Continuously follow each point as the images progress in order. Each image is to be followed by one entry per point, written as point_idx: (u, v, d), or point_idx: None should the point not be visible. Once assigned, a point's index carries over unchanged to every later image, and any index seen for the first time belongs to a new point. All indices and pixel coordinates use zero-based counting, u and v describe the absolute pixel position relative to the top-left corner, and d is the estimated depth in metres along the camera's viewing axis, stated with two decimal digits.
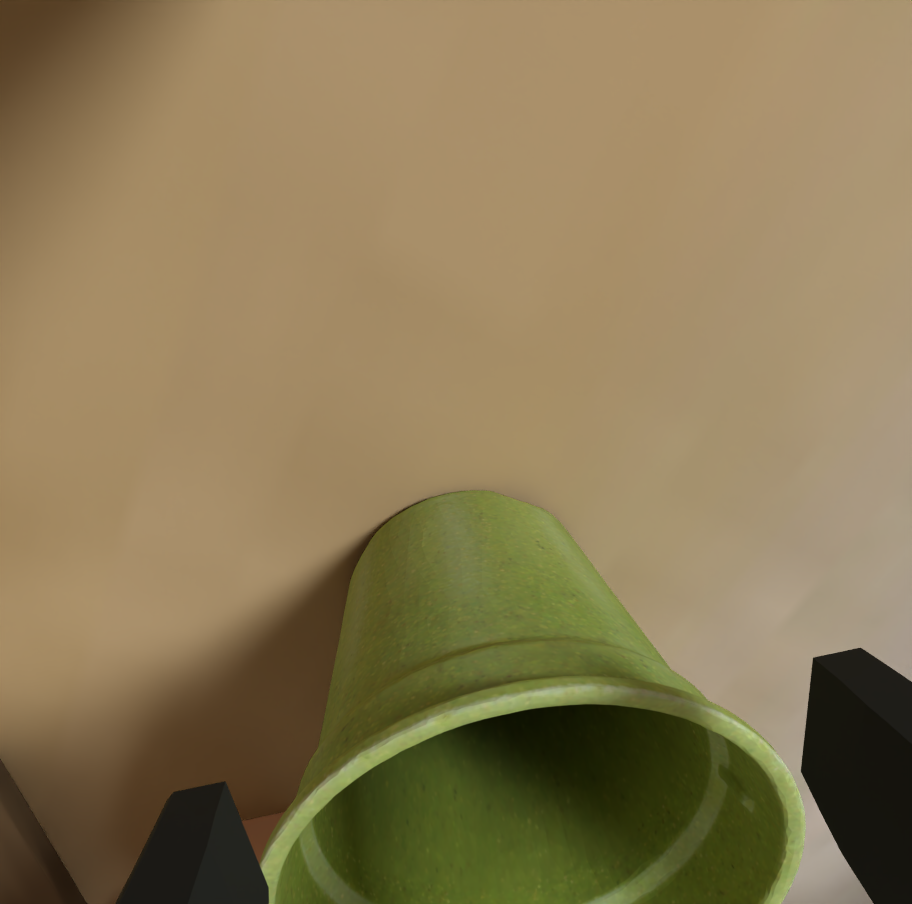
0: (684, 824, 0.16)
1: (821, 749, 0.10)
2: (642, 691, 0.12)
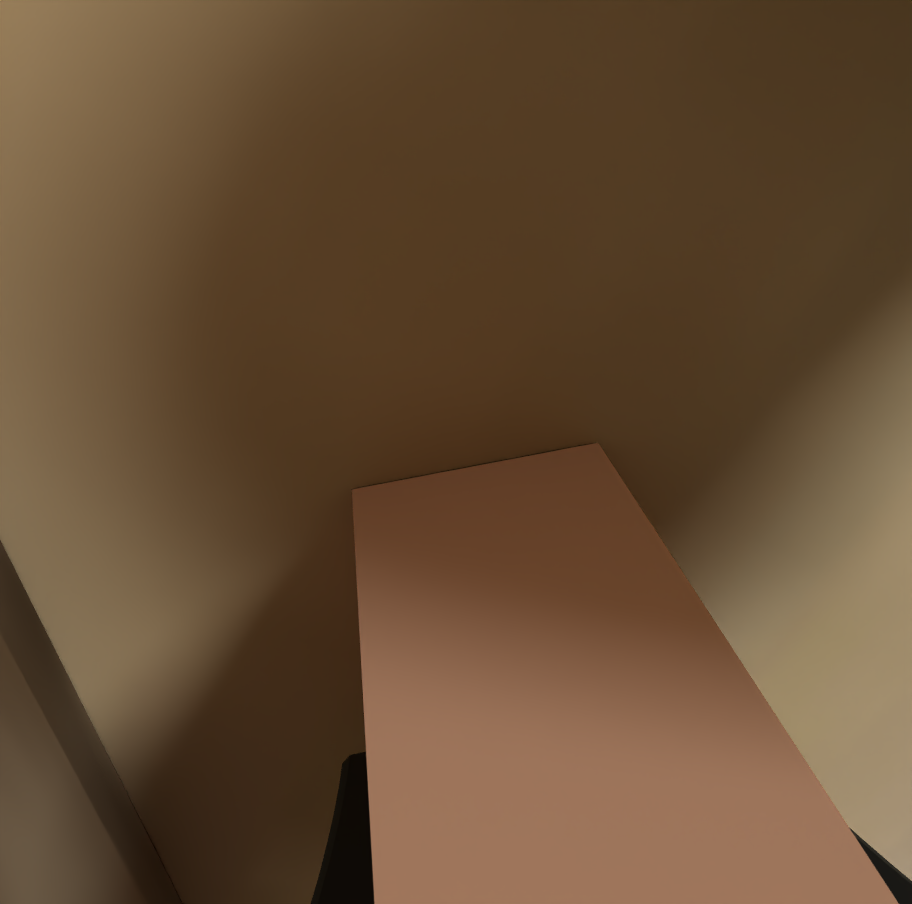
0: None
1: None
2: None
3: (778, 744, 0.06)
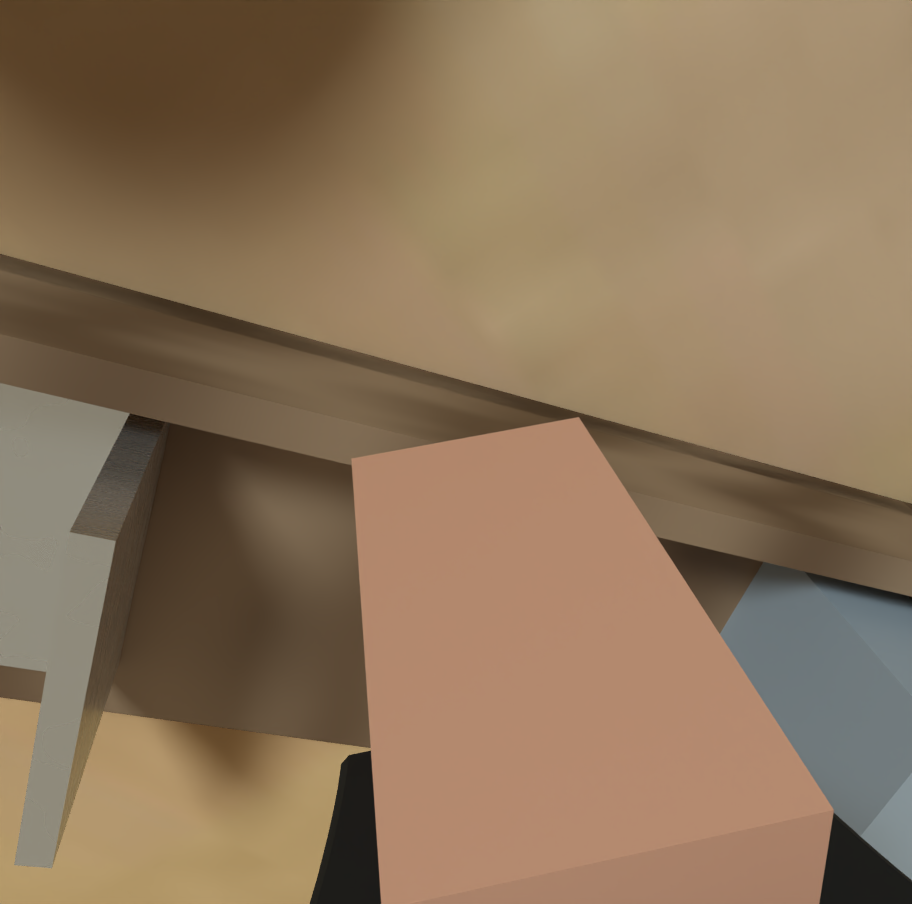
0: None
1: None
2: None
3: (725, 665, 0.06)
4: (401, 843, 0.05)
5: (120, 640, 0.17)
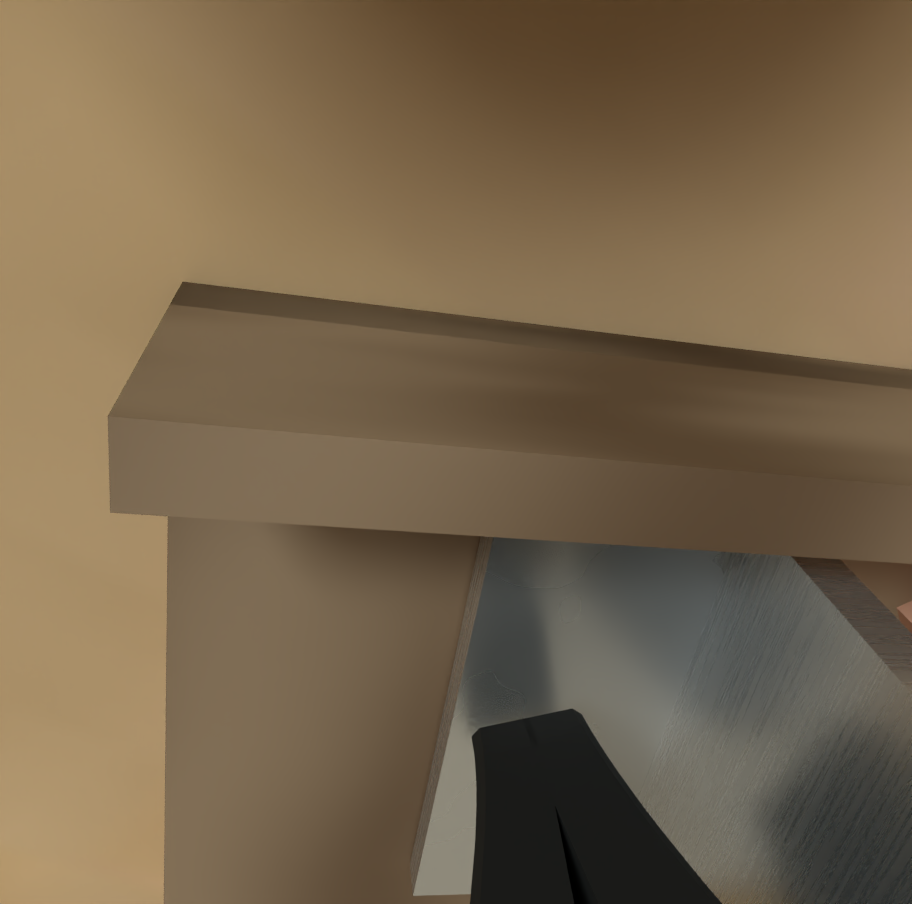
0: None
1: None
2: None
3: None
4: None
5: None
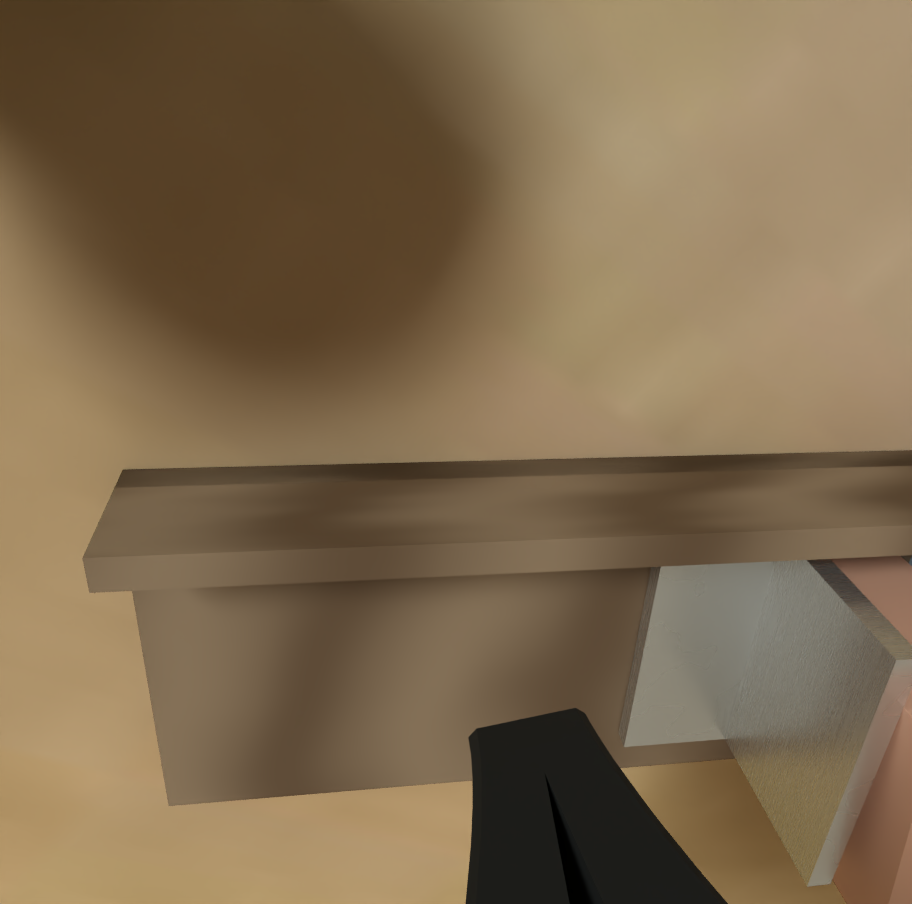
0: None
1: None
2: None
3: None
4: None
5: None
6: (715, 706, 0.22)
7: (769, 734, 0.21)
